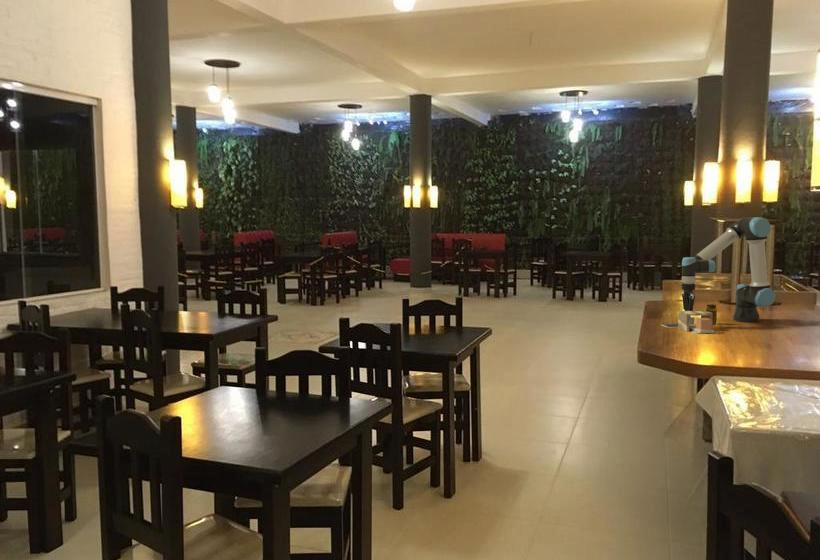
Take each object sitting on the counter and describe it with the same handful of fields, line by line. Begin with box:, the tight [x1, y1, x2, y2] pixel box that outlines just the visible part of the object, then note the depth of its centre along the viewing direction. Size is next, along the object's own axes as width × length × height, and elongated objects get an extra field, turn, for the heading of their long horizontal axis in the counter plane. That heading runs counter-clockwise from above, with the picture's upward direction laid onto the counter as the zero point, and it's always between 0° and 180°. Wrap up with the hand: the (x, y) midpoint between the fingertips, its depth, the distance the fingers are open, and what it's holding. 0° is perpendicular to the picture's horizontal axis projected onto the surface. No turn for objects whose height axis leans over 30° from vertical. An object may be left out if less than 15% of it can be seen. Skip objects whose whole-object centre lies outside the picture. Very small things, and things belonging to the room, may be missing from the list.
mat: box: [691, 330, 716, 335], centre depth 394 cm, size 11×7×1 cm, turn 93°
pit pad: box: [661, 323, 678, 329], centre depth 418 cm, size 17×10×1 cm, turn 93°
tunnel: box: [677, 310, 713, 332], centre depth 404 cm, size 15×11×10 cm
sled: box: [689, 316, 715, 334], centre depth 401 cm, size 8×25×7 cm, turn 3°
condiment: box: [705, 303, 718, 326], centre depth 421 cm, size 7×8×12 cm
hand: (687, 322), depth 414 cm, fingers closed
